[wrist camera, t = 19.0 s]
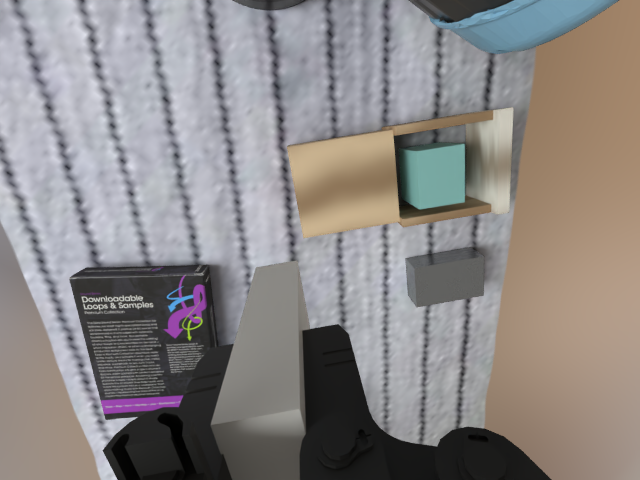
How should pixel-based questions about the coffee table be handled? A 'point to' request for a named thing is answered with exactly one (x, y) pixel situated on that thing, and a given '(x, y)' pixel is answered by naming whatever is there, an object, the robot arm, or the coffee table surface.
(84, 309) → the box
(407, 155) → the block
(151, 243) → the coffee table surface
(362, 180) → the drawer
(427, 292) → the dark grey block
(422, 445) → the robot arm
